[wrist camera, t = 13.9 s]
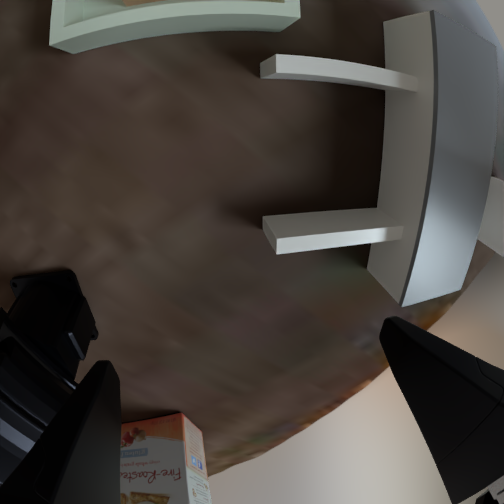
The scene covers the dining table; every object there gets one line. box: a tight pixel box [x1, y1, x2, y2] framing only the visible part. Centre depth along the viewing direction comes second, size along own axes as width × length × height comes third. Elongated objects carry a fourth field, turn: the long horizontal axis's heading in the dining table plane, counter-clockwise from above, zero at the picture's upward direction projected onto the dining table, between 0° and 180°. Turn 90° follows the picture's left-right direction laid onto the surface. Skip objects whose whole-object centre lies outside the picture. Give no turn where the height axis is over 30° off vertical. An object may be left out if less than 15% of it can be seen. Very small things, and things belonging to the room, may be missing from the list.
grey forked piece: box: [260, 10, 498, 307], centre depth 17 cm, size 16×20×5 cm
